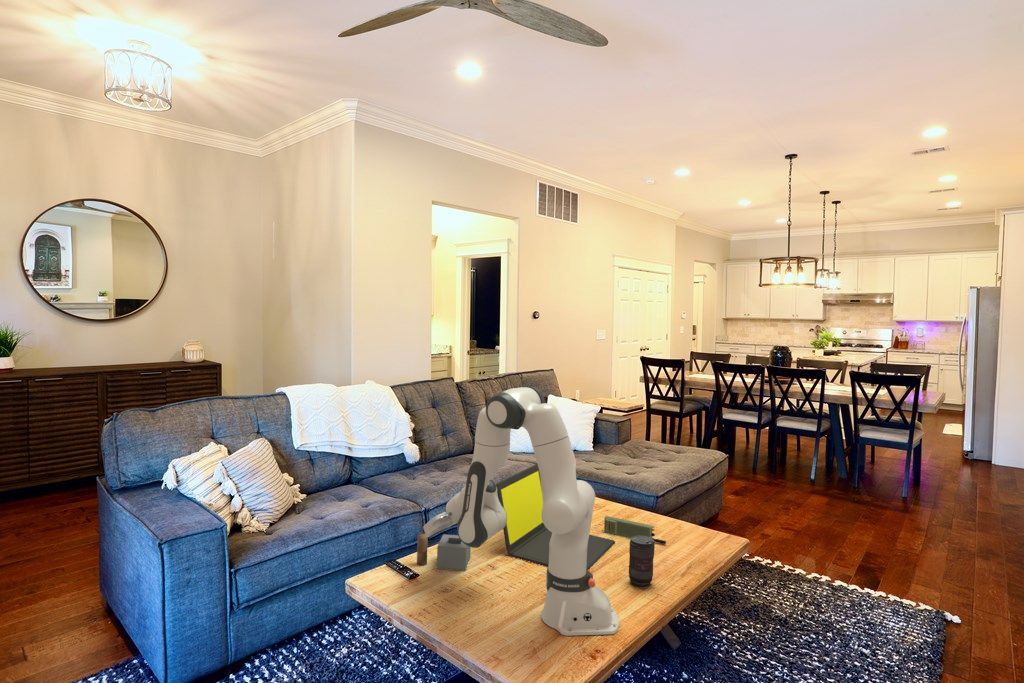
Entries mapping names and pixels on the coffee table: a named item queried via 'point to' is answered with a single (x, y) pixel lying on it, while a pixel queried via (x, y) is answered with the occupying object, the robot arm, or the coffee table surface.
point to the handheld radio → (628, 528)
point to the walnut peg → (422, 549)
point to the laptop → (534, 521)
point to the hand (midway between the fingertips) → (437, 530)
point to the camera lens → (641, 561)
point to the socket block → (452, 553)
